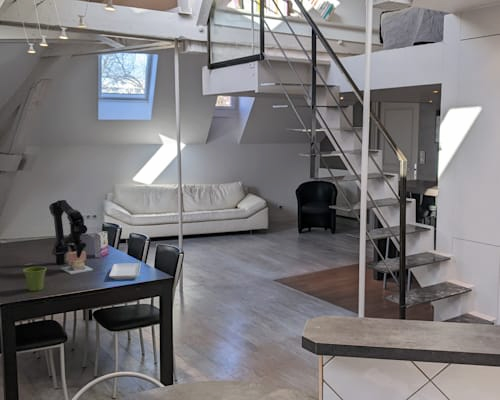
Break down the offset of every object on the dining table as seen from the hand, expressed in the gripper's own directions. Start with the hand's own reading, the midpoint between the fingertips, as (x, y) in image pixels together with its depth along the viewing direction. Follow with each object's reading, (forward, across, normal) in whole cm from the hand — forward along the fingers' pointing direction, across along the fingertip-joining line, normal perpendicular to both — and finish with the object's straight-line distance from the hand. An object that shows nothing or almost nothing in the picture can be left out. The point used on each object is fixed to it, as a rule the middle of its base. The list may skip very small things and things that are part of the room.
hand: (76, 256), depth 341 cm
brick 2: (+7, 0, 0) cm, 7 cm away
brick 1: (+2, 0, 0) cm, 2 cm away
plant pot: (+8, +29, -34) cm, 46 cm away
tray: (+9, +29, +19) cm, 36 cm away
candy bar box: (+8, -27, +28) cm, 40 cm away
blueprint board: (+8, 0, 0) cm, 8 cm away
